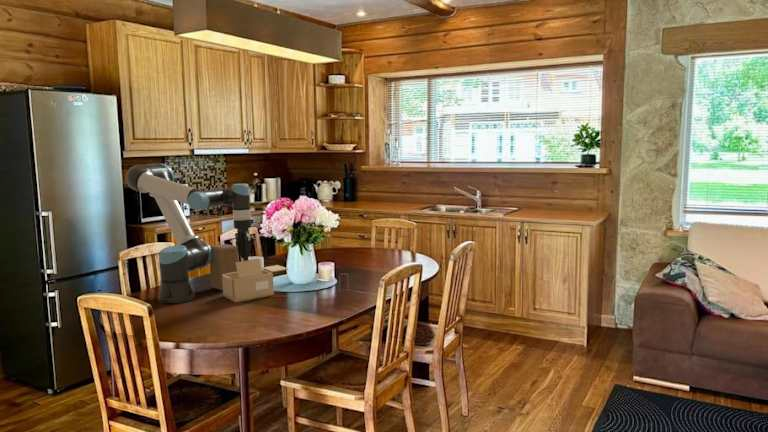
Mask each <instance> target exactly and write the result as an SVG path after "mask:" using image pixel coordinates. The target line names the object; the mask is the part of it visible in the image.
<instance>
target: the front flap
mask: <svg viewBox="0 0 768 432" xmlns="http://www.w3.org/2000/svg"><path fill="white" fill-rule="evenodd" d="M235 264H236V268H237V272H238V276H239V278H243V277H249V276H255V275H260V274H263V272H262V268H261V264H260V260H259V259H254V260H248V261H242V262H241V261H239V262H236V263H235Z"/></svg>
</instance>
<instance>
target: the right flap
mask: <svg viewBox="0 0 768 432" xmlns="http://www.w3.org/2000/svg"><path fill="white" fill-rule="evenodd" d="M262 269H264V270H265V271H268V272H270V273H274V272H281V271H287V270H289V269H288V268H287V267H285V266H282V265H279V264H275V265H270V266H269V265H268V266H264V267H263V268H262Z"/></svg>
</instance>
